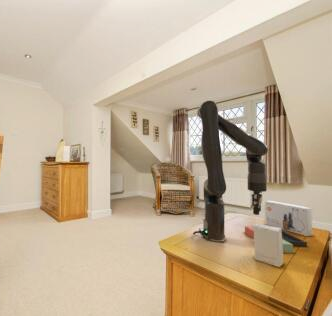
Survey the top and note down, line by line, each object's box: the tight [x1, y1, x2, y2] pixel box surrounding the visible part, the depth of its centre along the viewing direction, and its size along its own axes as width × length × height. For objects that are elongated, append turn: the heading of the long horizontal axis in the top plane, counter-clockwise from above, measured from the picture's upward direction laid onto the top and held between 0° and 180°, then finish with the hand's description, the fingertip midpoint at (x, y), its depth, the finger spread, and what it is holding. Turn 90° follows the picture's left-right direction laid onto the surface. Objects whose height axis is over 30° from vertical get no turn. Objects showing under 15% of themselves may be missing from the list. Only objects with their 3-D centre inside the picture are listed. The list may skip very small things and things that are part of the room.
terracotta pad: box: [244, 225, 254, 239], centre depth 110 cm, size 6×8×4 cm
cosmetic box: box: [252, 223, 284, 268], centre depth 82 cm, size 8×6×15 cm
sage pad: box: [282, 239, 294, 254], centre depth 94 cm, size 6×8×4 cm
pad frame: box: [282, 230, 308, 248], centre depth 106 cm, size 12×19×2 cm, turn 170°
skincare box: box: [264, 200, 313, 237], centre depth 119 cm, size 21×5×16 cm, turn 17°
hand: (257, 212), depth 99 cm, fingers open, 8 cm apart
